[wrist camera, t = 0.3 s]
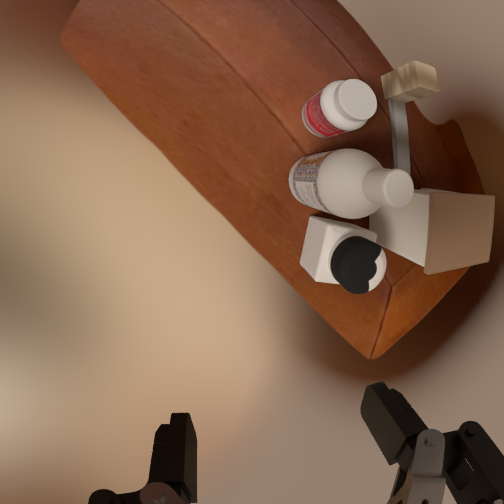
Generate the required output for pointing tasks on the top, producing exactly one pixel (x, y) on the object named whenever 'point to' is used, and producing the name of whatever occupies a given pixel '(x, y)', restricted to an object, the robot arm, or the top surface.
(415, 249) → the cabinet
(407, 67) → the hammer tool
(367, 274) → the medicine bottle
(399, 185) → the bath foam
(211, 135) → the top surface
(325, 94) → the pill bottle
